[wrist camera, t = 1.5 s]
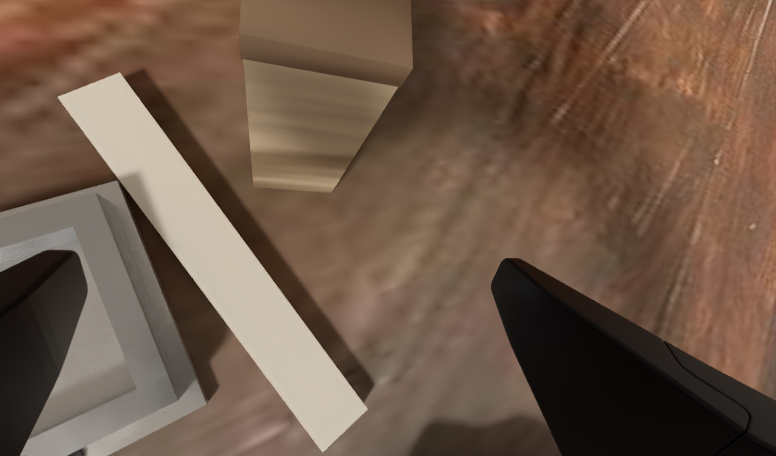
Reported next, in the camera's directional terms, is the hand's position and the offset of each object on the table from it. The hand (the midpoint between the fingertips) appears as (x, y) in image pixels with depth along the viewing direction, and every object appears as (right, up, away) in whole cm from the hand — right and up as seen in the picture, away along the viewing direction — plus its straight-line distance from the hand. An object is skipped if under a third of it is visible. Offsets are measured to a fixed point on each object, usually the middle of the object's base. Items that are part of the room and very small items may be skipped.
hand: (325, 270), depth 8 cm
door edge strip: (-8, -1, +12) cm, 14 cm away
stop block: (-4, +5, +14) cm, 16 cm away
